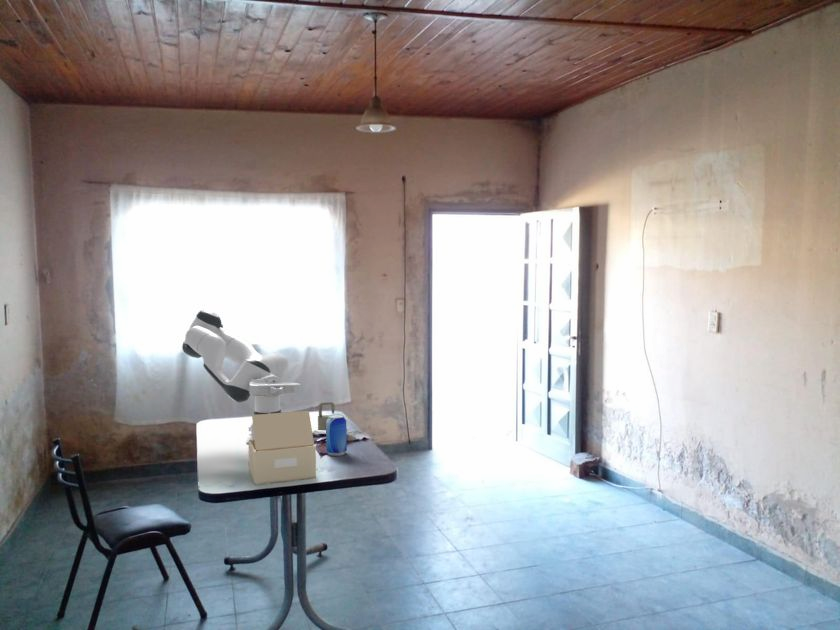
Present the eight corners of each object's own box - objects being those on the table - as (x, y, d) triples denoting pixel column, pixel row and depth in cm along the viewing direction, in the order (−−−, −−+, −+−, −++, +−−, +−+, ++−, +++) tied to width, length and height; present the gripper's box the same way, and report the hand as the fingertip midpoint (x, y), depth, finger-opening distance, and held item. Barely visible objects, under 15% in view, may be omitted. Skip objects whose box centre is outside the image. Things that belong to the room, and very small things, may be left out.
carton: (249, 470, 255) (248, 440, 254) (306, 464, 262) (305, 434, 262) (255, 485, 238) (254, 452, 237) (316, 478, 246) (315, 446, 245)
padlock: (336, 433, 311) (335, 402, 310) (318, 434, 309) (318, 403, 308) (335, 431, 315) (334, 400, 314) (317, 432, 313) (317, 401, 312)
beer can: (332, 457, 272) (332, 419, 271) (322, 453, 279) (322, 415, 278) (350, 454, 277) (350, 416, 276) (340, 449, 284) (340, 412, 283)
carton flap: (252, 415, 245) (252, 415, 245) (308, 411, 253) (308, 410, 252) (255, 450, 238) (255, 449, 237) (313, 444, 245) (314, 444, 245)
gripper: (297, 393, 272) (305, 398, 259) (246, 395, 264) (251, 399, 251) (297, 378, 272) (305, 382, 259) (246, 379, 264) (252, 383, 251)
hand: (278, 390), depth 255 cm, fingers closed
